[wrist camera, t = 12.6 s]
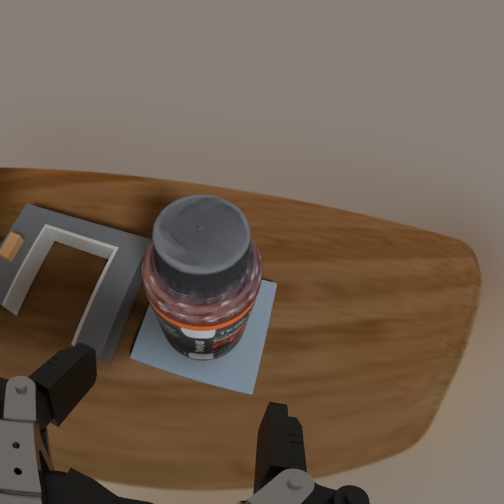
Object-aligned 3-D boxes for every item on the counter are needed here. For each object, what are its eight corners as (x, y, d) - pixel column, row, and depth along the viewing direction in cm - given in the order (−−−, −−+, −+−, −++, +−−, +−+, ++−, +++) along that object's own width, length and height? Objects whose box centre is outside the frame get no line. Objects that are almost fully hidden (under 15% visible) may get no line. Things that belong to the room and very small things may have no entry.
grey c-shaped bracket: (-29, 285, 19) (-44, 270, 16) (14, 210, 24) (3, 192, 22) (110, 364, 18) (96, 355, 16) (154, 253, 24) (149, 233, 21)
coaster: (132, 359, 19) (130, 357, 19) (170, 258, 24) (170, 254, 23) (251, 395, 19) (252, 394, 18) (275, 286, 24) (277, 283, 23)
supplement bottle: (222, 377, 19) (234, 330, 9) (148, 337, 19) (96, 255, 10) (257, 307, 22) (295, 209, 13) (188, 274, 23) (178, 162, 13)
